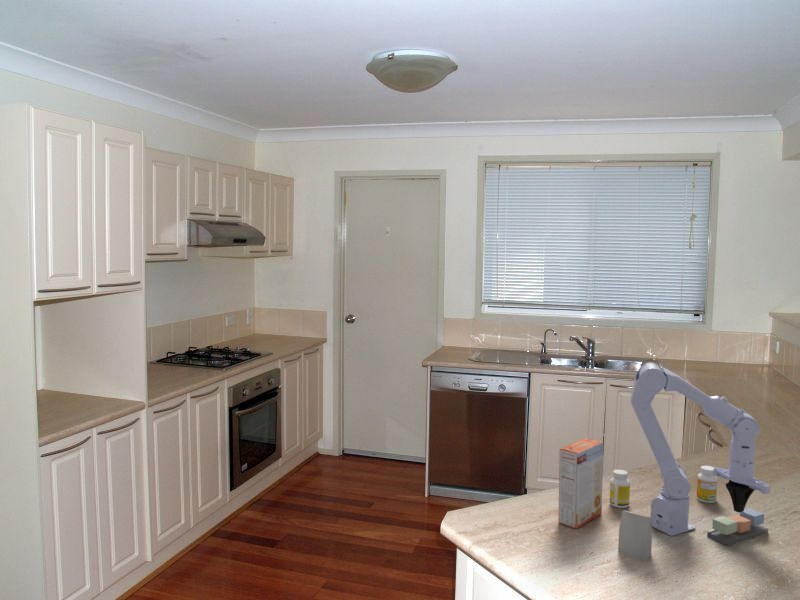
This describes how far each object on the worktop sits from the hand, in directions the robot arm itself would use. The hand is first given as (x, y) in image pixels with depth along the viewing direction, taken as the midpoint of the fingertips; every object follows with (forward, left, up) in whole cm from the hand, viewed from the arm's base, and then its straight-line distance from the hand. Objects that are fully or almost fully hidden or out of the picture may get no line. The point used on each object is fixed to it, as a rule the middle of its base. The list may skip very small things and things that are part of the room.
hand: (738, 511), depth 167 cm
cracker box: (-30, +26, -7) cm, 40 cm away
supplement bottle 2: (+13, +19, -7) cm, 24 cm away
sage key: (-5, 0, -4) cm, 7 cm away
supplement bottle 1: (-13, +28, -7) cm, 31 cm away
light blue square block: (+6, 0, -4) cm, 7 cm away
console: (0, 0, -6) cm, 6 cm away
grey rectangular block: (-32, +5, -7) cm, 33 cm away
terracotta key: (0, 0, -5) cm, 5 cm away
